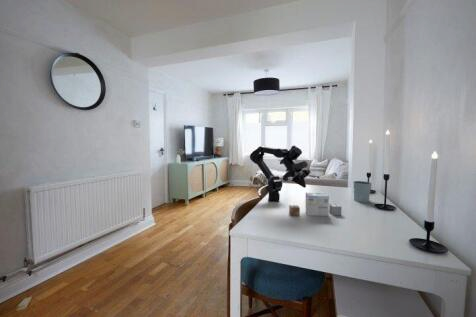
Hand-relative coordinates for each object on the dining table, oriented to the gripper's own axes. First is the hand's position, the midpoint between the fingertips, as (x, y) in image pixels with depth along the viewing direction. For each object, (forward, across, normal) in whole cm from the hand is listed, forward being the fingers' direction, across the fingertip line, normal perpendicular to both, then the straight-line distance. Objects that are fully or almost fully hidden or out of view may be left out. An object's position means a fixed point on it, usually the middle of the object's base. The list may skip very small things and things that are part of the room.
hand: (305, 187), depth 119 cm
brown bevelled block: (+10, -11, +8) cm, 17 cm away
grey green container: (+16, +46, +3) cm, 49 cm away
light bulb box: (+15, 0, +4) cm, 15 cm away
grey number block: (+18, +8, 0) cm, 20 cm away
